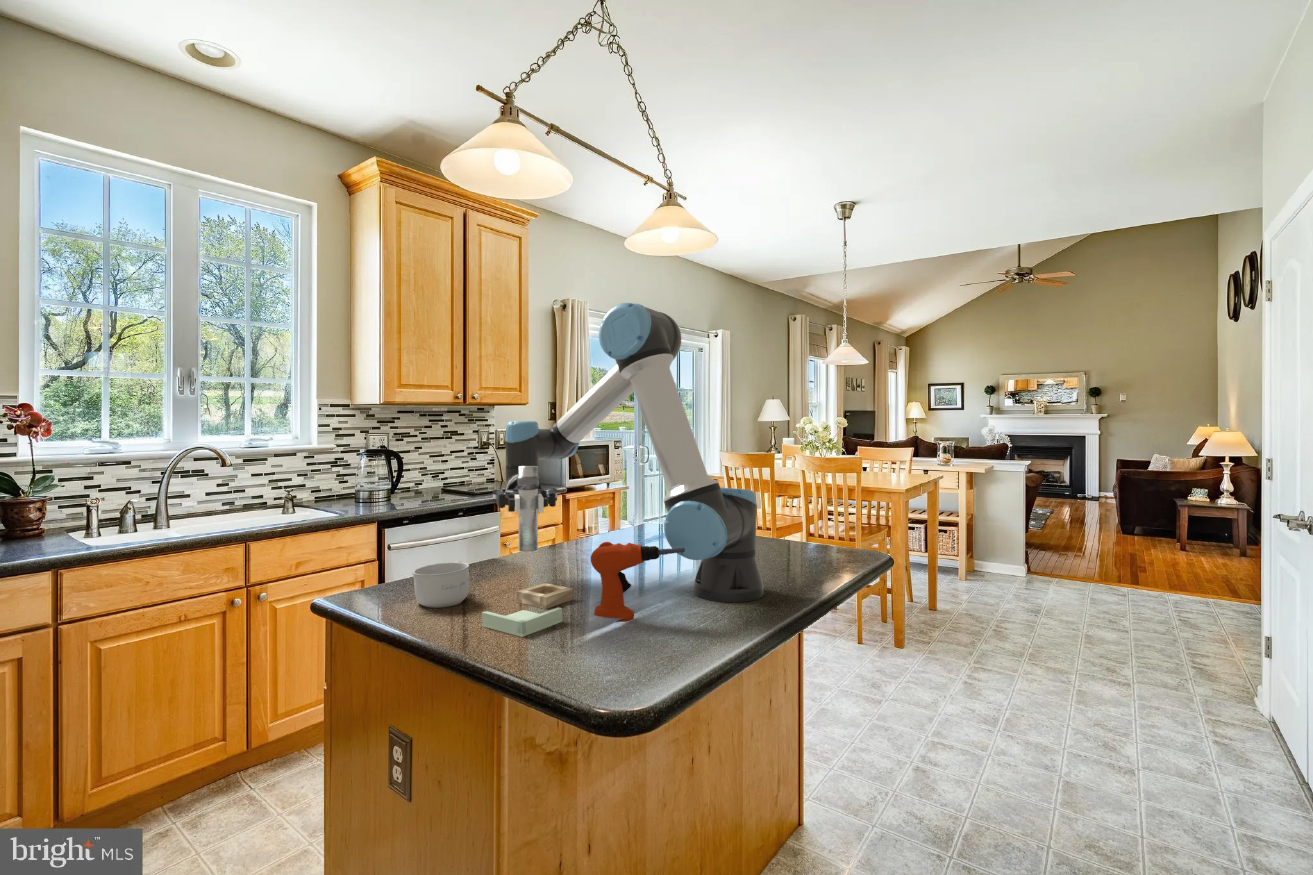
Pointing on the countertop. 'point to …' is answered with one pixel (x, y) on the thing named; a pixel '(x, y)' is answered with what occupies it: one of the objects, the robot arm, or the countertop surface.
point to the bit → (528, 508)
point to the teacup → (441, 584)
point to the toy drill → (620, 574)
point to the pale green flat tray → (521, 621)
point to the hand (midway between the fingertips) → (529, 505)
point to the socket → (544, 595)
